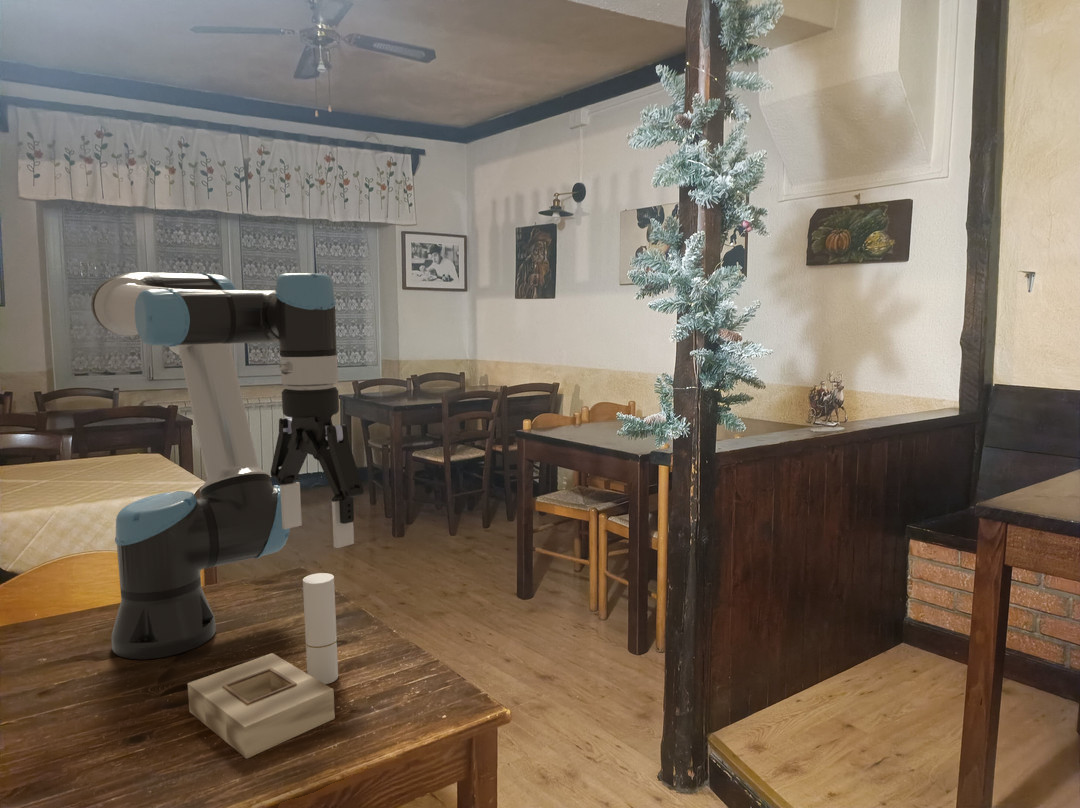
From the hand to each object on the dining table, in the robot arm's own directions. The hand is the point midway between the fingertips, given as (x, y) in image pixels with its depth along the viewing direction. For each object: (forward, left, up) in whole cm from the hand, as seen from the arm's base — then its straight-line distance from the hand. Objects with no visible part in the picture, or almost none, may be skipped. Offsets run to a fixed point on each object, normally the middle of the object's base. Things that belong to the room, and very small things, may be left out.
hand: (317, 536), depth 107 cm
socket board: (+3, -11, -21) cm, 24 cm away
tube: (0, 0, -21) cm, 21 cm away
